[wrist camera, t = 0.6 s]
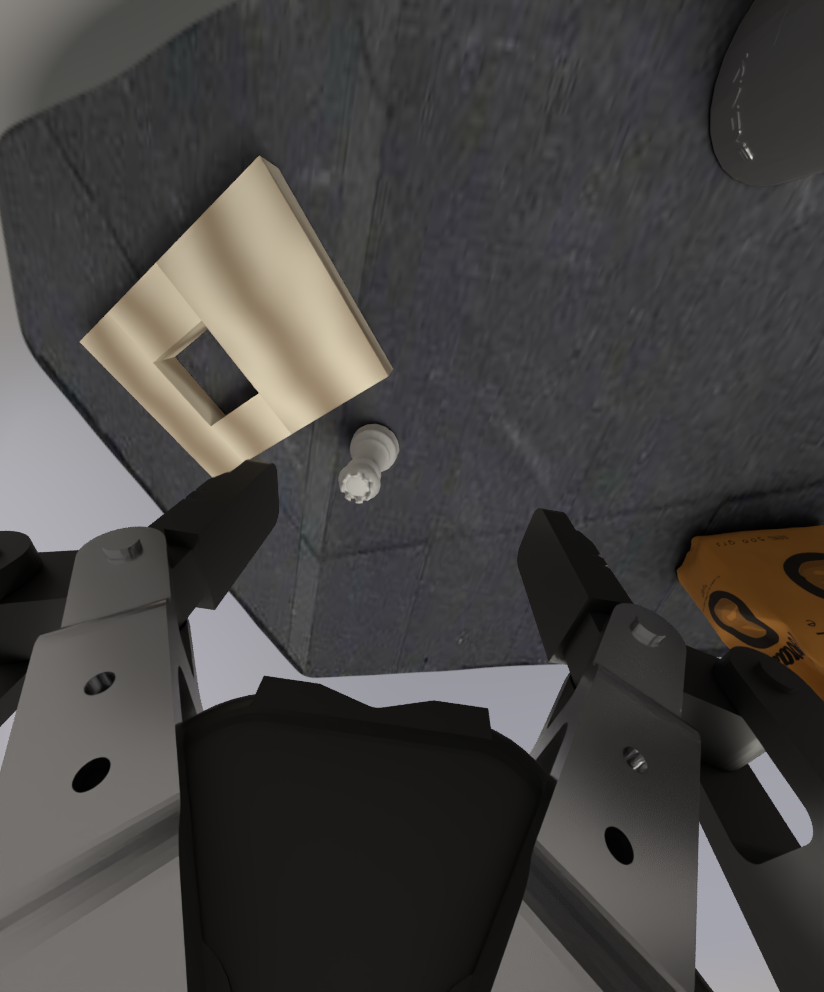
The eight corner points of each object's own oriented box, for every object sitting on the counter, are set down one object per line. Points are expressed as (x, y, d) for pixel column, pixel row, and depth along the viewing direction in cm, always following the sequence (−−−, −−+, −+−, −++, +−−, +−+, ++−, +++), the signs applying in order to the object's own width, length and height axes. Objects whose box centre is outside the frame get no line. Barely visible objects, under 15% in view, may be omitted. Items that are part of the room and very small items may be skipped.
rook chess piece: (352, 462, 32) (327, 509, 26) (353, 418, 30) (325, 457, 23) (397, 468, 32) (384, 517, 26) (402, 425, 30) (388, 467, 23)
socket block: (278, 167, 21) (259, 155, 19) (393, 368, 27) (388, 376, 25) (107, 337, 28) (79, 341, 26) (229, 467, 34) (215, 479, 32)
